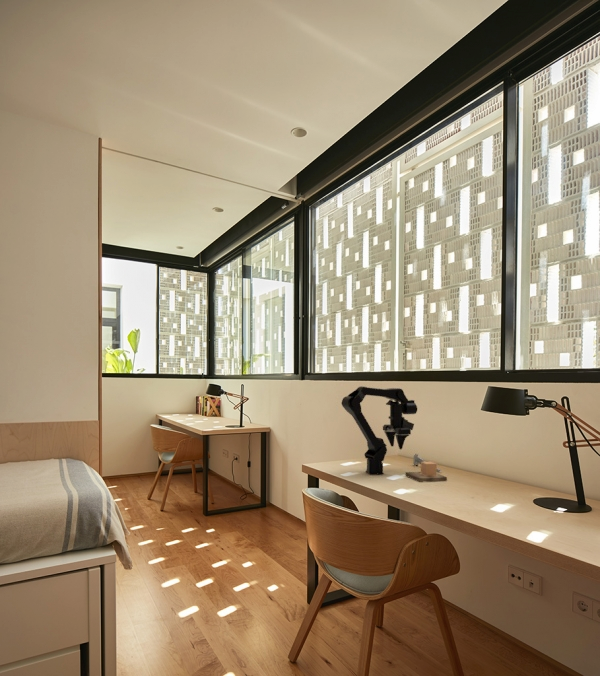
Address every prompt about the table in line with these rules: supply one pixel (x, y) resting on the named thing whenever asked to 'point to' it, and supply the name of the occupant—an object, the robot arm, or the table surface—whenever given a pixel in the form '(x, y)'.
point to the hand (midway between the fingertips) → (396, 447)
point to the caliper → (418, 460)
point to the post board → (425, 477)
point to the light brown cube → (428, 468)
